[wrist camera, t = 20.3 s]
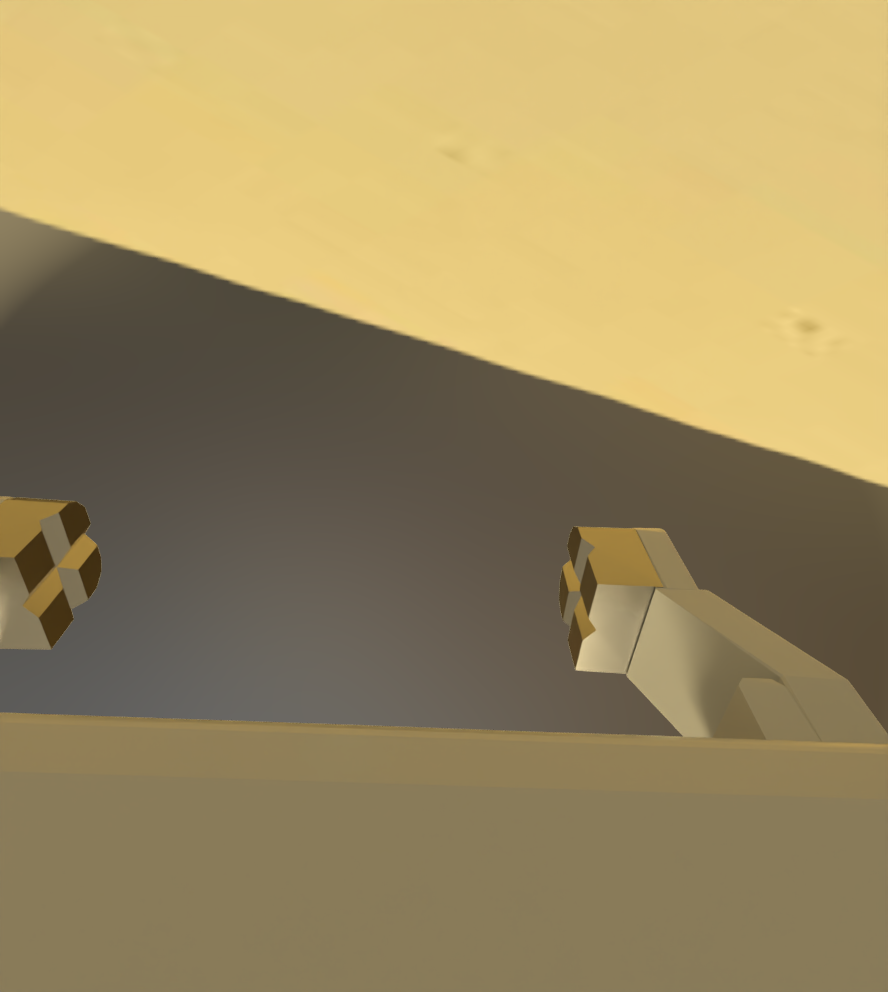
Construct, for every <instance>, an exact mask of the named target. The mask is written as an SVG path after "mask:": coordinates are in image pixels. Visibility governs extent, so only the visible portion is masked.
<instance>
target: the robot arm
mask: <svg viewBox="0 0 888 992" xmlns="http://www.w3.org/2000/svg"><path fill="white" fill-rule="evenodd" d="M90 524H91V523H90V520H89V517H88V514H87V512H86V509H85V507H84V506H83V505H81V504H80V503H78V502H77V501H63V500H49V499H35V498H20V497H16V498H13V497H4V496H0V649H52V648H53V646H54V645H55V644H56V642H57V641H58V640H59V638H60V637H61V636H62V634H63V633H64V632H65V630H66V629H67V628H68V626H69V625H70V624H71V622H72V621H73V620H74V618H73V614H72V610H71V609H73V608H74V607H76V606H78V605H80V604H82V603H83V602H85V601H87V600H88V599H89V598H90V597H91V595H92V594H93V592H94V591H95V589H96V588H97V585H98V581H99V578H100V574H101V556H100V553H99V549H98V546H97V544H95V543H94V542H93V541H92V540H91V539H90V538H89V537H88V536H86V535H85V533H86V531H87V529H88V528H89V526H90ZM567 548H568V552H569V555H570V559H571V560H570V561H569V562H568V563H567V564H565V565H564V566H563V567H562V572H561V578H560V586H559V588H560V589H559V603H560V611H561V615H562V619H563V621H564V622H565V623H566V624H568V625H569V626H570V631H569V636H568V644H569V648H570V651H571V655H572V659H573V663H574V667H575V670H579V671H594V672H609V673H624V674H627V677H628V678H629V679H630V680H631V681H632V682H633V683H634V684H635V686H636V687H637V688H638V689H639V690H640V691H641V692H642V693H643V694H644V695H645V696H646V697H647V698H648V699H649V700H650V701H651V702H652V704H653V705H654V706H655V707H656V708H657V709H658V710H659V711H660V712H661V713H662V714H663V715H664V716H665V717H666V718H667V720H668V721H670V723H671V724H672V725H673V726H674V727H675V728H676V729H677V730H678V731H679V732H680V733H681V734H682V735H683V736H684V737H677V736H650V735H649V736H648V735H619V734H617V735H616V734H588V733H557V732H556V733H555V732H529V731H501V730H475V729H448V728H421V727H394V726H368V725H341V724H313V723H284V722H254V721H253V722H252V721H225V720H197V719H167V718H137V717H110V716H81V715H53V714H52V715H51V714H24V713H0V992H888V734H887V733H886V731H885V730H884V729H883V727H882V726H881V724H880V723H879V722H878V720H877V719H876V718H875V716H874V715H873V714H872V712H871V711H870V710H869V708H868V707H867V705H866V704H865V703H864V701H863V700H862V699H861V697H860V696H859V695H858V693H857V692H856V690H855V689H854V688H853V686H852V685H851V683H850V682H849V681H848V680H847V679H845V678H843V677H842V676H841V675H839V674H837V673H836V672H834V671H833V670H831V669H830V668H828V667H827V666H825V665H823V664H822V663H820V662H819V661H817V660H816V659H814V658H813V657H811V656H809V655H808V654H806V653H805V652H803V651H801V650H800V649H799V648H797V647H795V646H794V645H792V644H791V643H789V642H788V641H786V640H785V639H783V638H781V637H780V636H778V635H777V634H775V633H774V632H772V631H770V630H769V629H767V628H766V627H764V626H763V625H761V624H760V623H758V622H756V621H755V620H753V619H752V618H750V617H749V616H747V615H746V614H744V613H742V612H741V611H739V610H738V609H736V608H734V607H733V606H731V605H730V604H728V603H727V602H725V601H724V600H722V599H721V598H719V597H717V596H716V595H714V594H713V593H711V592H710V591H708V590H698V588H697V586H696V585H695V583H694V581H693V579H692V577H691V575H690V574H689V572H688V570H687V568H686V567H685V565H684V564H683V561H682V560H681V558H680V556H679V554H678V553H677V551H676V549H675V547H674V545H673V544H672V542H671V540H670V538H669V537H668V535H667V533H666V532H665V531H664V530H662V529H660V528H601V527H600V528H599V527H573V528H572V530H571V532H570V535H569V540H568V544H567Z"/></svg>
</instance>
